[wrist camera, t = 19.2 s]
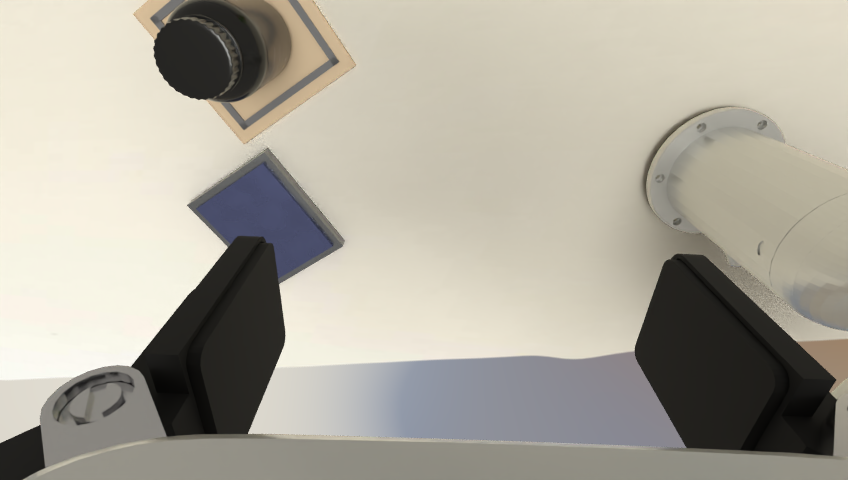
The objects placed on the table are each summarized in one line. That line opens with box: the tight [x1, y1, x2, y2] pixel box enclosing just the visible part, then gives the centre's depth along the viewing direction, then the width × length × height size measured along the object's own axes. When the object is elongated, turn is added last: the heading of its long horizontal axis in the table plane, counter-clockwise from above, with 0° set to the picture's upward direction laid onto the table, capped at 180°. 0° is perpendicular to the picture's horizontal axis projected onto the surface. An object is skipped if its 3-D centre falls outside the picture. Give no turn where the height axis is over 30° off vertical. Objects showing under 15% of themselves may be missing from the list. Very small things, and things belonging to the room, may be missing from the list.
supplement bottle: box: [153, 0, 291, 103], centre depth 33 cm, size 7×7×12 cm
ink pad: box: [187, 148, 345, 284], centre depth 46 cm, size 12×10×2 cm
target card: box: [133, 0, 356, 144], centre depth 38 cm, size 13×13×1 cm
